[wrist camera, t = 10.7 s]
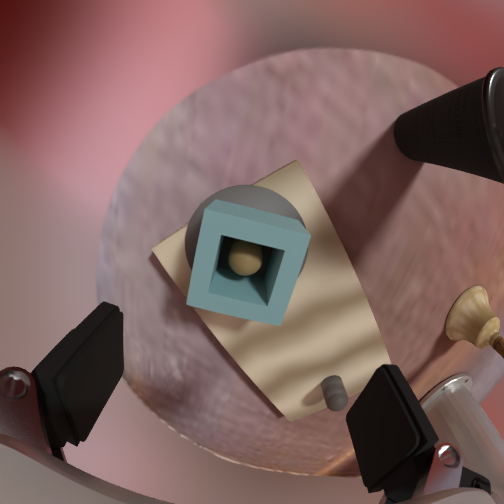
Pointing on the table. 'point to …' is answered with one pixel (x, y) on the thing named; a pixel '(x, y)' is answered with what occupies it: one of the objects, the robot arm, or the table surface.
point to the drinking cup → (459, 128)
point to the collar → (252, 286)
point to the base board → (290, 302)
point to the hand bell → (474, 321)
